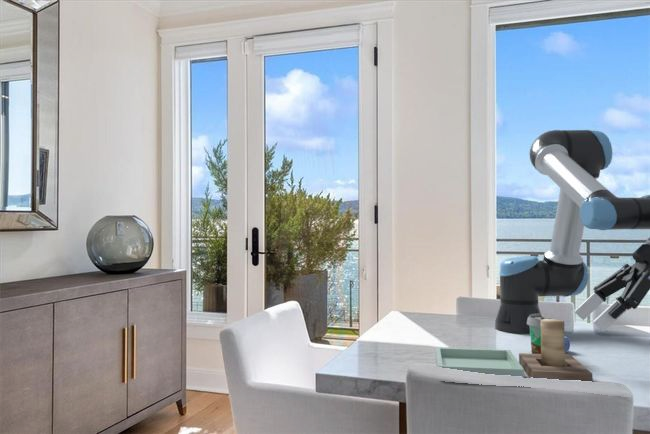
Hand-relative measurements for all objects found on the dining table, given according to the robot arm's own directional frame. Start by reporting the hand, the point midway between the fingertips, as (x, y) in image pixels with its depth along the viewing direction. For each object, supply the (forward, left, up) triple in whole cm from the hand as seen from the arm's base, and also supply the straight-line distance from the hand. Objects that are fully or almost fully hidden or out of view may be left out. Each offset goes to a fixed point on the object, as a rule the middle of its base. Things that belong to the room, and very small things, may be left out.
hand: (587, 321), depth 119 cm
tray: (-1, -24, -12) cm, 27 cm away
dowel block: (-1, -7, -12) cm, 14 cm away
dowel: (-1, -7, -12) cm, 14 cm away
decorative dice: (-24, 0, -13) cm, 27 cm away
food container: (-18, -6, -13) cm, 23 cm away
